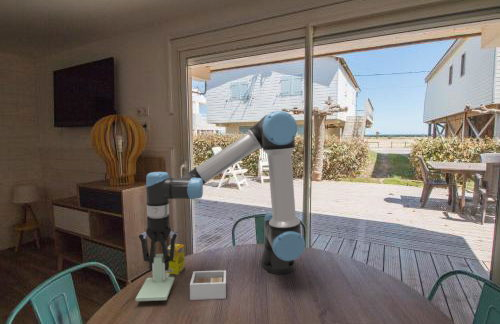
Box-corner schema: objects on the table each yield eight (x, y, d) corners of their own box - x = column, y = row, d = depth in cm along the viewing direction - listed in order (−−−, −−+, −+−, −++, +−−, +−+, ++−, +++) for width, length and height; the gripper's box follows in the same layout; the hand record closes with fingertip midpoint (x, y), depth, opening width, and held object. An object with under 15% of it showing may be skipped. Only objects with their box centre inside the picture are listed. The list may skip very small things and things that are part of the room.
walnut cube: (207, 288, 98) (207, 278, 98) (206, 294, 95) (206, 284, 94) (196, 288, 98) (196, 278, 98) (195, 295, 94) (195, 284, 94)
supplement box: (178, 276, 108) (177, 250, 107) (164, 275, 109) (164, 248, 108) (185, 269, 114) (184, 244, 113) (171, 268, 115) (171, 243, 114)
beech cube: (222, 288, 99) (222, 277, 99) (221, 294, 95) (221, 283, 95) (211, 288, 99) (211, 277, 98) (210, 294, 95) (210, 283, 94)
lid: (149, 276, 103) (149, 250, 102) (176, 275, 104) (175, 250, 103) (135, 301, 88) (134, 271, 87) (166, 300, 88) (165, 270, 87)
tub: (226, 285, 102) (226, 270, 101) (225, 300, 93) (225, 283, 92) (193, 286, 101) (193, 271, 100) (190, 301, 92) (189, 284, 91)
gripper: (131, 219, 92) (133, 284, 95) (178, 218, 94) (180, 283, 96) (138, 212, 100) (140, 274, 102) (182, 212, 101) (183, 272, 103)
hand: (159, 278), depth 99 cm, fingers closed on lid, 3 cm apart
